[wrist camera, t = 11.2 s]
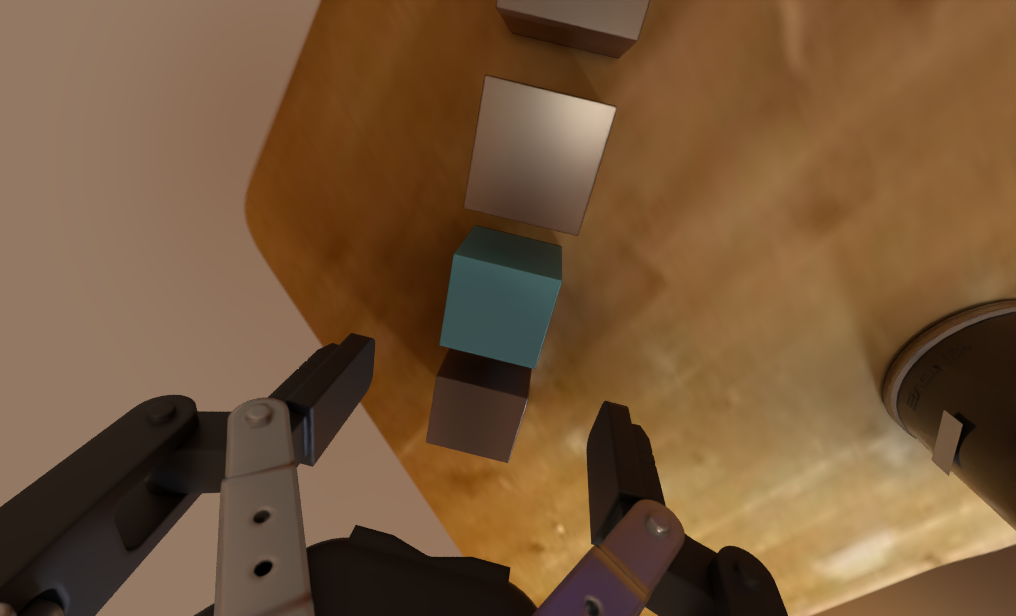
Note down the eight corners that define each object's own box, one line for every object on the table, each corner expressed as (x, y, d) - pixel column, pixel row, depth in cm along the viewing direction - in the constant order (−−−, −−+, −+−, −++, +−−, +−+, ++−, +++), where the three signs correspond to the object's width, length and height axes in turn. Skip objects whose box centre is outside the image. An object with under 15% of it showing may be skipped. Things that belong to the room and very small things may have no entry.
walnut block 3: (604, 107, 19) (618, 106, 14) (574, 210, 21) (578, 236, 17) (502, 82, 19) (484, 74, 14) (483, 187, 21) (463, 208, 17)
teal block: (562, 246, 22) (562, 280, 18) (539, 322, 24) (535, 369, 20) (475, 224, 22) (453, 253, 18) (461, 302, 24) (438, 345, 20)
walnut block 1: (534, 348, 25) (528, 398, 21) (517, 406, 28) (508, 463, 23) (458, 329, 25) (436, 375, 21) (447, 389, 28) (425, 442, 23)
